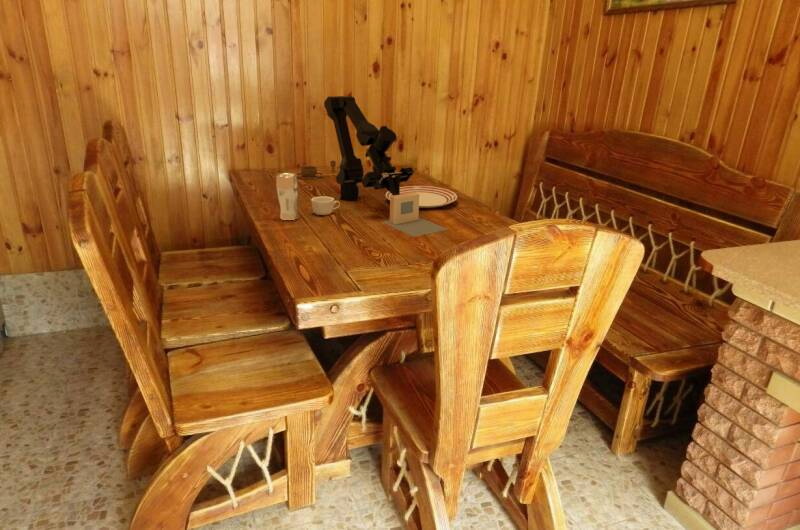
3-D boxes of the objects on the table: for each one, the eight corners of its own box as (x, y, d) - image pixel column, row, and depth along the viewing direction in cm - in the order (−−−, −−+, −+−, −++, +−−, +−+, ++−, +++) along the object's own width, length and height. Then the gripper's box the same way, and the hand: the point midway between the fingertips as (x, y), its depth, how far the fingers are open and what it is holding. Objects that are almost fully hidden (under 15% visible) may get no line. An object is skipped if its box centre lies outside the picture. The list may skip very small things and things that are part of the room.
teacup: (313, 217, 184) (313, 202, 182) (310, 211, 191) (309, 197, 189) (342, 216, 187) (342, 200, 185) (338, 210, 194) (337, 195, 192)
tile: (389, 222, 180) (390, 196, 177) (413, 217, 185) (414, 192, 182) (394, 224, 178) (394, 197, 175) (418, 219, 183) (419, 194, 180)
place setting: (292, 174, 248) (292, 162, 246) (335, 172, 255) (335, 160, 253) (299, 183, 233) (298, 169, 231) (344, 180, 239) (343, 167, 237)
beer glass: (281, 222, 178) (279, 178, 173) (276, 217, 184) (273, 173, 179) (302, 220, 181) (300, 176, 176) (295, 214, 187) (293, 172, 182)
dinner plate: (452, 215, 192) (453, 206, 190) (377, 209, 197) (377, 200, 195) (460, 196, 217) (460, 188, 215) (393, 191, 222) (393, 183, 220)
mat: (381, 223, 180) (381, 221, 180) (415, 216, 188) (415, 215, 188) (413, 237, 167) (414, 236, 167) (448, 230, 175) (448, 229, 174)
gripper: (392, 170, 198) (409, 206, 193) (348, 176, 187) (365, 214, 183) (405, 152, 189) (423, 189, 185) (360, 156, 179) (378, 196, 174)
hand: (398, 197), depth 182 cm, fingers closed
